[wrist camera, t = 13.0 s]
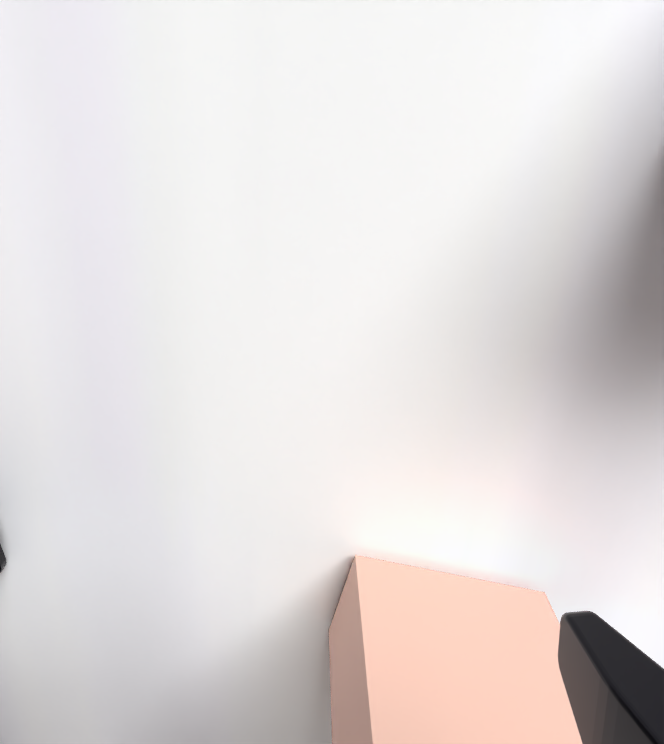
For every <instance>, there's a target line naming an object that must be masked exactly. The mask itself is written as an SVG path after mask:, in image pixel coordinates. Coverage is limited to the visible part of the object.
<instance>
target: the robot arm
mask: <svg viewBox="0 0 664 744" xmlns="http://www.w3.org/2000/svg"><path fill="white" fill-rule="evenodd" d="M5 565H6V558H5V556H4V553H3V550H2V548H1V545H0V573H1V571H2V570H3V568H4V567H5ZM558 664H559V669H560V673H561V676H562V679H563V683H564V686H565V689H566V692H567V695H568V699H569V702H570V705H571V708H572V711H573V715H574V718H575V721H576V724H577V727H578V731H579V734H580V737H581V740H582V743H583V744H664V669H663V668H662V667H661V666H660V665H658V664H657V663H656V662H655V661H653V660H652V659H651V658H650V657H648V656H647V655H646V654H645V653H643V652H642V651H641V650H640V649H638V648H637V647H636V646H635V645H634V644H632V643H631V642H630V641H629V640H627V639H626V638H625V637H624V636H622V635H621V634H620V633H619V632H617V631H616V630H615V629H614V628H613V627H611V626H610V625H609V624H608V623H606V622H605V621H604V620H603V619H601V618H600V617H599V616H598V615H596V614H595V613H593V612H591V611H580V612H569V613H565V614H563V615H562V617H561V621H560V633H559V645H558Z"/></svg>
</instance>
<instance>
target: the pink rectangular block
mask: <svg viewBox="0 0 664 744" xmlns="http://www.w3.org/2000/svg"><path fill="white" fill-rule="evenodd" d="M559 633H560V624H559V622H558V620H557V618H556V615H555V613H554V611H553V609H552V607H551V605H550V603H549V601H548V599H547V596H546V594H545V592H540V591H535V590H530V589H525V588H520V587H515V586H510V585H505V584H500V583H495V582H490V581H485V580H479V579H474V578H469V577H464V576H459V575H454V574H449V573H444V572H439V571H434V570H429V569H424V568H419V567H414V566H409V565H404V564H399V563H394V562H389V561H384V560H379V559H373V558H368V557H363V556H358V555H355V557H354V560H353V563H352V566H351V568H350V571H349V574H348V577H347V580H346V583H345V585H344V588H343V591H342V594H341V597H340V600H339V602H338V605H337V608H336V611H335V614H334V617H333V619H332V622H331V625H330V628H329V656H330V690H331V724H332V744H583V743H582V740H581V737H580V734H579V731H578V727H577V724H576V721H575V718H574V715H573V711H572V708H571V705H570V702H569V699H568V695H567V692H566V689H565V686H564V683H563V679H562V676H561V673H560V669H559V664H558V645H559Z"/></svg>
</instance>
